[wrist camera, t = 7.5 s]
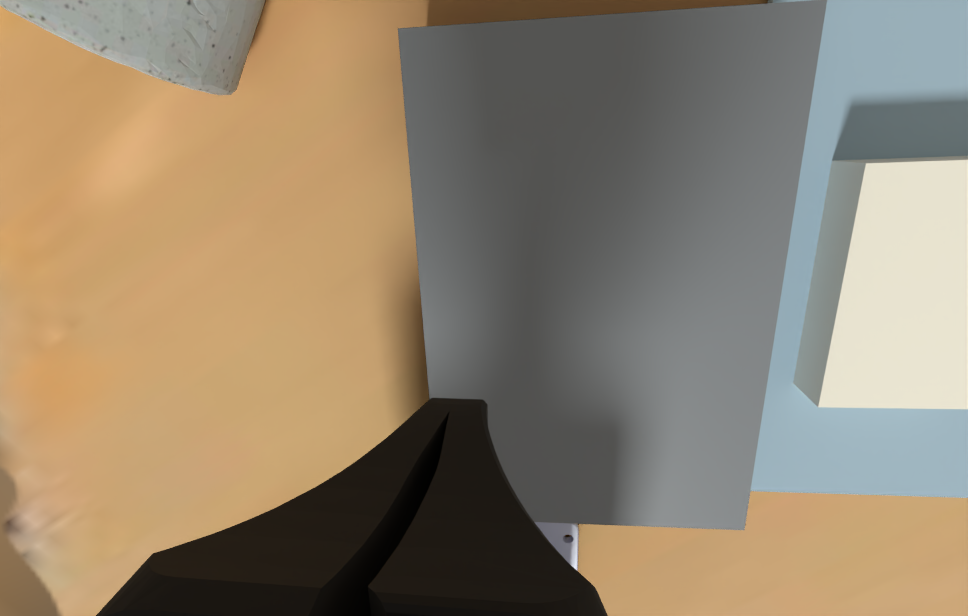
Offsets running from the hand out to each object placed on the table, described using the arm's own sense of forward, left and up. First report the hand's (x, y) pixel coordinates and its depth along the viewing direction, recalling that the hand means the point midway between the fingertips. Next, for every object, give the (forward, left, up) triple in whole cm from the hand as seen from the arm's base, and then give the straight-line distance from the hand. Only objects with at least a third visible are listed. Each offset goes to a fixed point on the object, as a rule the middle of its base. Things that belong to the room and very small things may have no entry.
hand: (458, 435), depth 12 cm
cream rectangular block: (+1, -16, -8) cm, 17 cm away
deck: (+1, -4, -10) cm, 11 cm away
